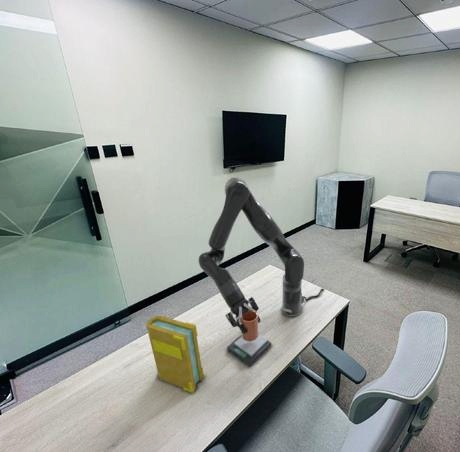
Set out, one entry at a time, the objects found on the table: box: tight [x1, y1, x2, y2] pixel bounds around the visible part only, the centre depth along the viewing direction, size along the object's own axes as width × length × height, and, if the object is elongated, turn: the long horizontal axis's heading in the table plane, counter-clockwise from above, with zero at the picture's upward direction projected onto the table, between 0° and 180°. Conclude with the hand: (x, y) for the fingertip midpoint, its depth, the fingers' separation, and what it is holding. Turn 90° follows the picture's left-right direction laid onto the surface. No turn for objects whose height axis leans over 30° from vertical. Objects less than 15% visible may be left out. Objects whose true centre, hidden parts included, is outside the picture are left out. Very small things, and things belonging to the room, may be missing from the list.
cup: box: [241, 310, 259, 341], centre depth 109 cm, size 7×7×10 cm
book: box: [145, 315, 205, 394], centre depth 95 cm, size 17×7×25 cm, turn 71°
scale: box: [226, 333, 272, 367], centre depth 112 cm, size 13×13×3 cm
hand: (252, 327), depth 108 cm, fingers closed on cup, 7 cm apart
